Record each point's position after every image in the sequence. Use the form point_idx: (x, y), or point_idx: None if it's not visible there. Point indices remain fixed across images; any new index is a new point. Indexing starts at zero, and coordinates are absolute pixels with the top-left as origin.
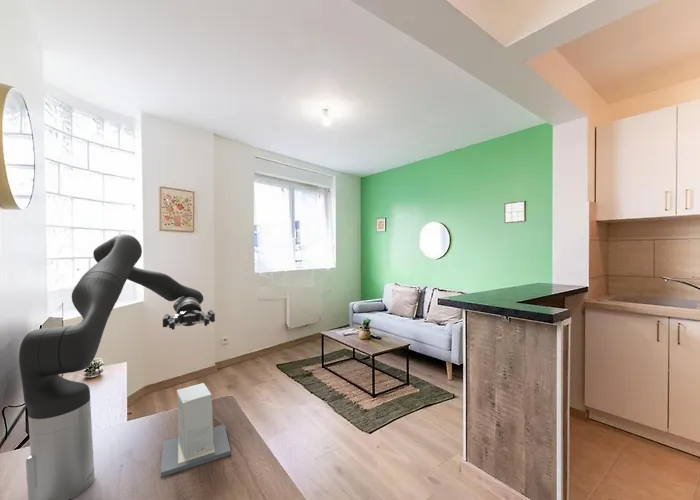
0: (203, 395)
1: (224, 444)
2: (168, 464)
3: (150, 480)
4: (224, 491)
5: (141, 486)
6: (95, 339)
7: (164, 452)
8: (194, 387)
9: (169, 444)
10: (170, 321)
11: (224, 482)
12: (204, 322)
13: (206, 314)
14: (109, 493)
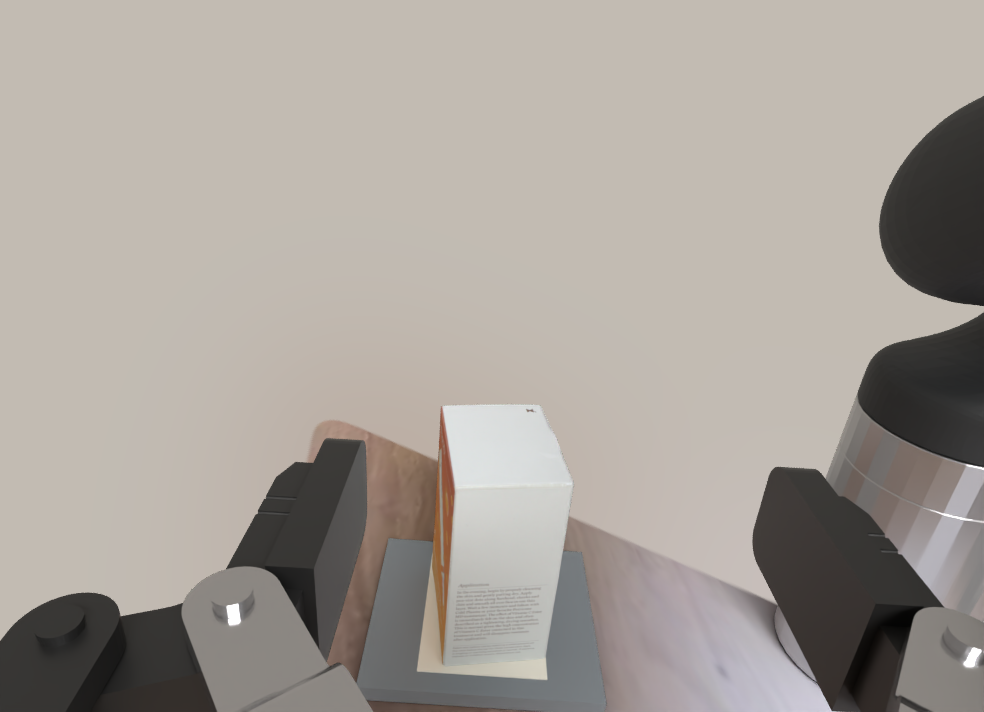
0: (470, 409)
1: (396, 569)
2: (565, 570)
3: (605, 566)
4: (436, 465)
5: (623, 557)
6: (929, 177)
7: (588, 630)
8: (499, 466)
9: (578, 666)
10: (908, 584)
11: (430, 483)
12: (356, 517)
13: (235, 596)
14: (699, 573)
